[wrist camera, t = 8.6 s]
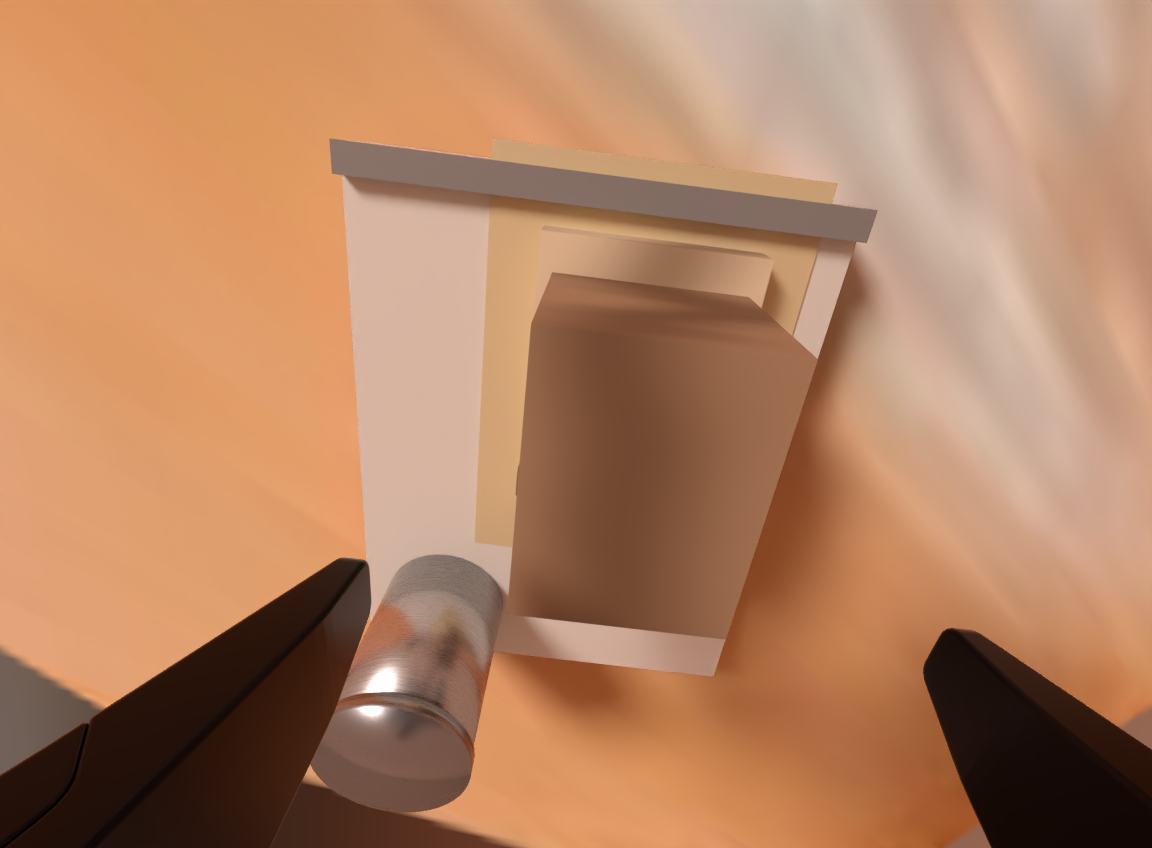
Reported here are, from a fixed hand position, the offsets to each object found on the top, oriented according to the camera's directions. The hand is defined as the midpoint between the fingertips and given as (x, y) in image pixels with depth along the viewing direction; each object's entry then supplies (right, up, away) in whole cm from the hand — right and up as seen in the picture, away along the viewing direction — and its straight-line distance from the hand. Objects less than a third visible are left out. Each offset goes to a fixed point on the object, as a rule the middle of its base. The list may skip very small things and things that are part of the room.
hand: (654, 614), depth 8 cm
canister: (-6, -4, +12) cm, 15 cm away
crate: (0, +4, +8) cm, 9 cm away
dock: (-1, +3, +12) cm, 12 cm away
